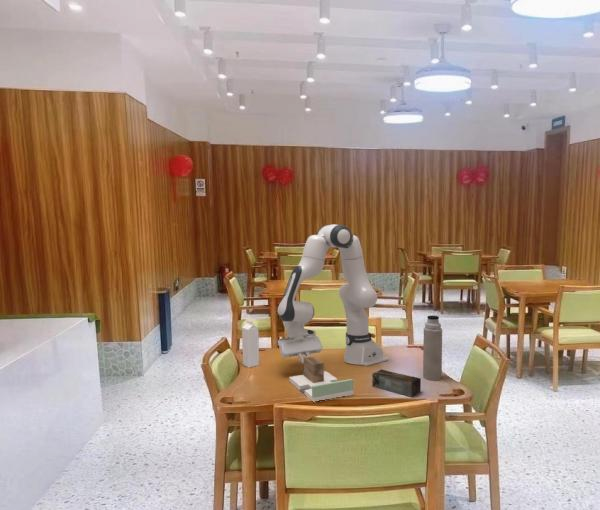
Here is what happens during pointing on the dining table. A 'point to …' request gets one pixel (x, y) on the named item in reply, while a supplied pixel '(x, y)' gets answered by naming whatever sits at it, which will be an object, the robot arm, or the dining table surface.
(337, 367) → the dining table surface
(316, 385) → the grey tray
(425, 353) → the thermos bottle
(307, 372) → the walnut block
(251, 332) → the milk
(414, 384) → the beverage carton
